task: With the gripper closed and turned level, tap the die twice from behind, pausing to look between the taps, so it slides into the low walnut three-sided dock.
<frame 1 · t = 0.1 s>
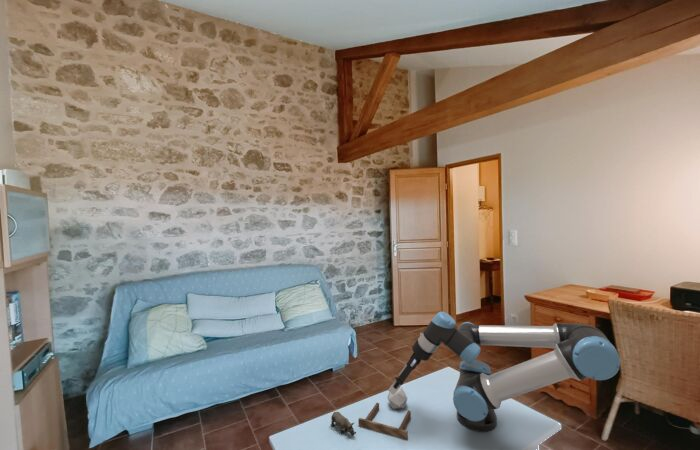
hand: (396, 384, 129), 15 cm above the table, tool tilted 35°, fingers open, 13 cm apart
rhino figurine: (344, 432, 124), on the table
die: (397, 407, 139), on the table
dock: (388, 422, 129), on the table
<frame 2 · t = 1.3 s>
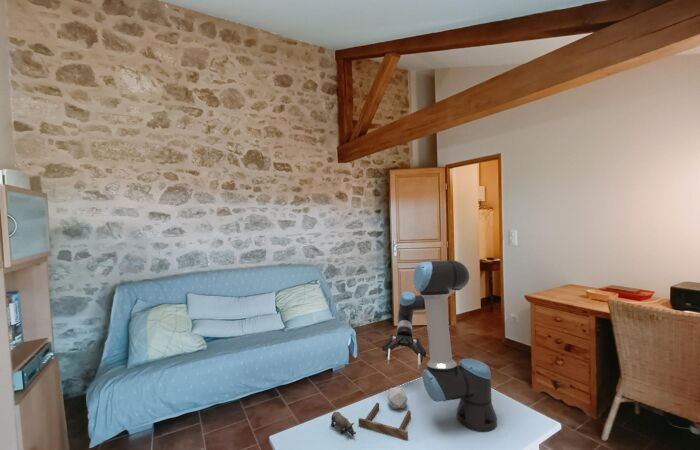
hand: (403, 364, 140), 18 cm above the table, tool tilted 70°, fingers open, 13 cm apart
nothing on the table moved.
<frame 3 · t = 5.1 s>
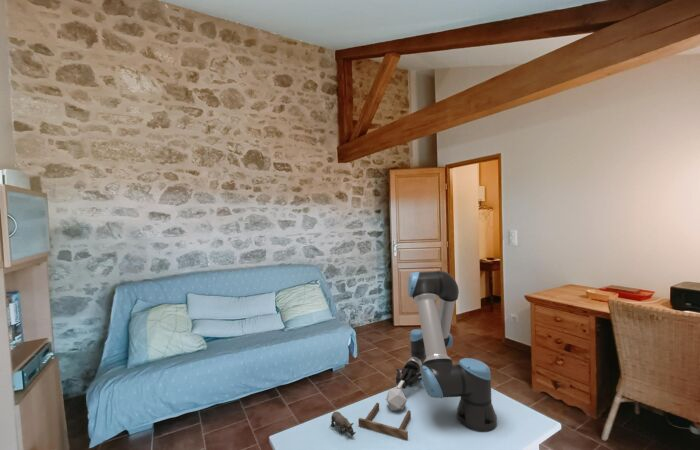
hand: (398, 390, 142), 6 cm above the table, tool horizontal, fingers closed
die: (396, 408, 138), on the table, touching gripper
everything else where it was.
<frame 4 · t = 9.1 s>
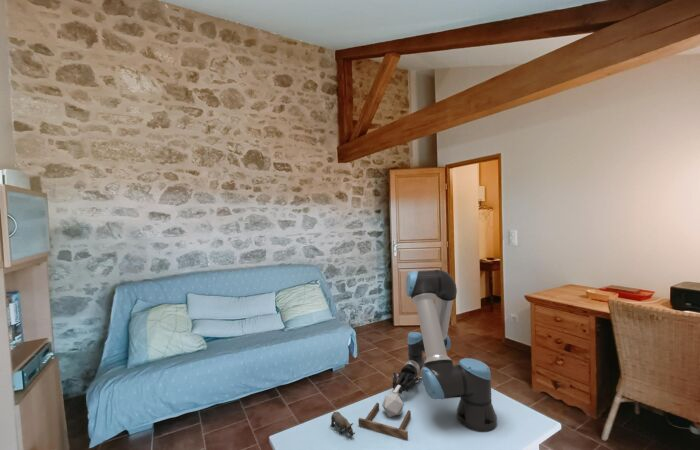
hand: (394, 395, 138), 6 cm above the table, tool horizontal, fingers closed
die: (393, 414, 134), on the table
everything else where it was.
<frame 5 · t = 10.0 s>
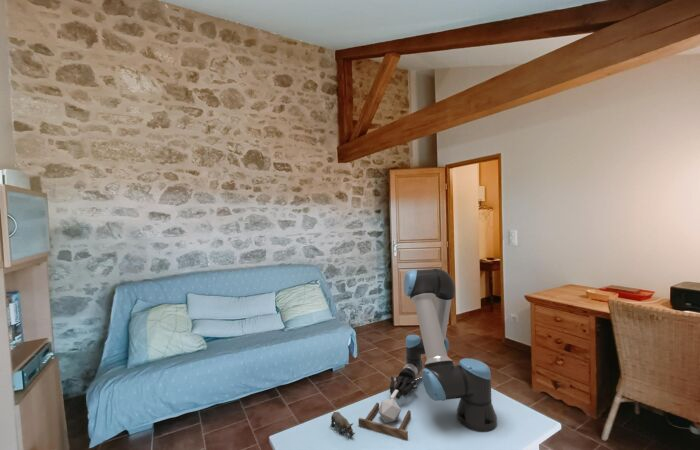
hand: (392, 400, 134), 6 cm above the table, tool horizontal, fingers closed
die: (389, 420, 130), on the table, touching gripper
everything else where it was.
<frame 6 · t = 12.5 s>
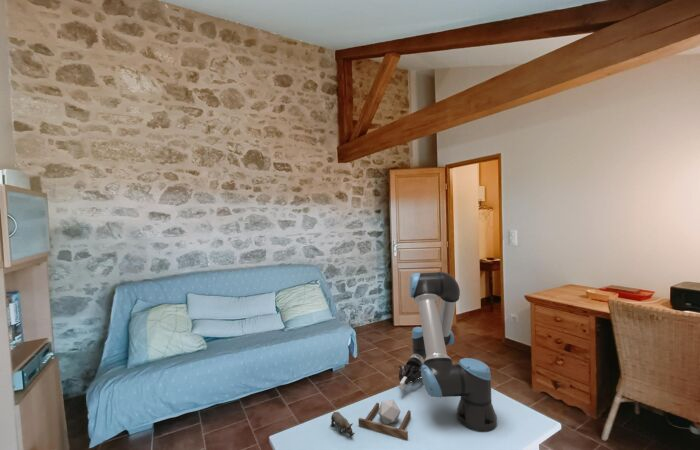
hand: (401, 386, 145), 6 cm above the table, tool horizontal, fingers closed
die: (389, 421, 130), on the table
everything else where it was.
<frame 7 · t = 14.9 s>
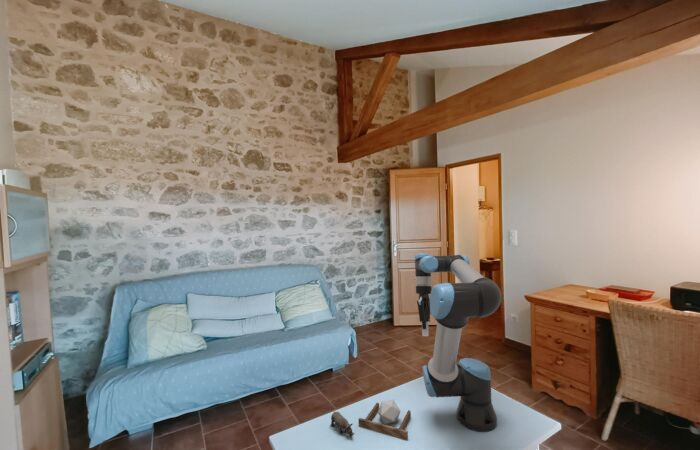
hand: (425, 335, 151), 26 cm above the table, tool pointing down, fingers closed
nothing on the table moved.
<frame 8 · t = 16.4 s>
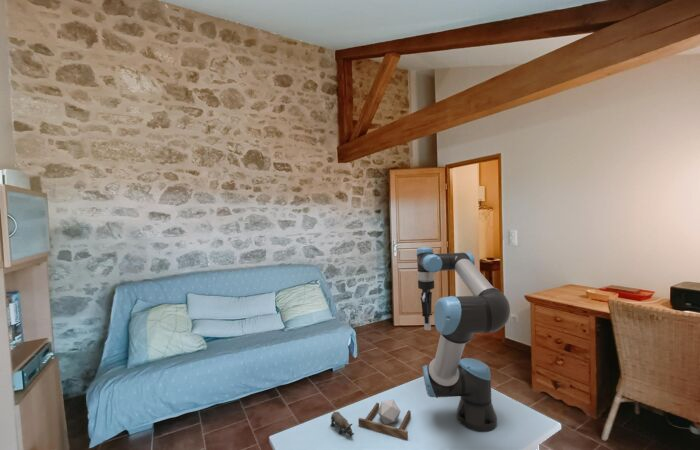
hand: (427, 329, 150), 29 cm above the table, tool pointing down, fingers closed
nothing on the table moved.
at the end: die inside the target area on the dock (0.8 cm from its centre), point 0.0 cm above the dock's base; die tilted 0° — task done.
